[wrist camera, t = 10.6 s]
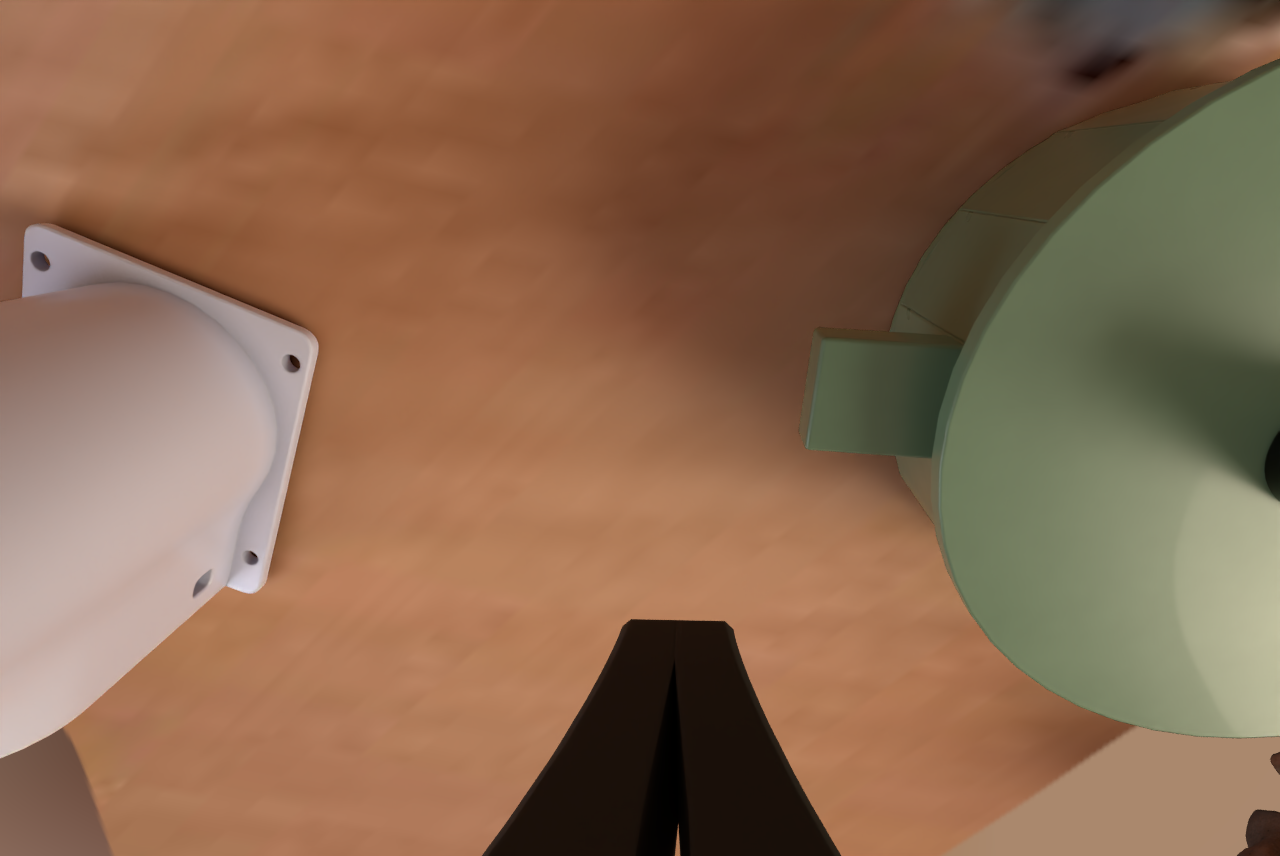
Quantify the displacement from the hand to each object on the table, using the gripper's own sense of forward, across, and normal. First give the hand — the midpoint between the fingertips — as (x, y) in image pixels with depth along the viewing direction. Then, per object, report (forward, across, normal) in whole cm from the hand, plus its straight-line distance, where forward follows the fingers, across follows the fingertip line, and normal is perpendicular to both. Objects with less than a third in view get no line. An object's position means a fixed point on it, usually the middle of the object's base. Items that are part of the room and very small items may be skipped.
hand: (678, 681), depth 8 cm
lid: (+5, -11, -1) cm, 13 cm away
